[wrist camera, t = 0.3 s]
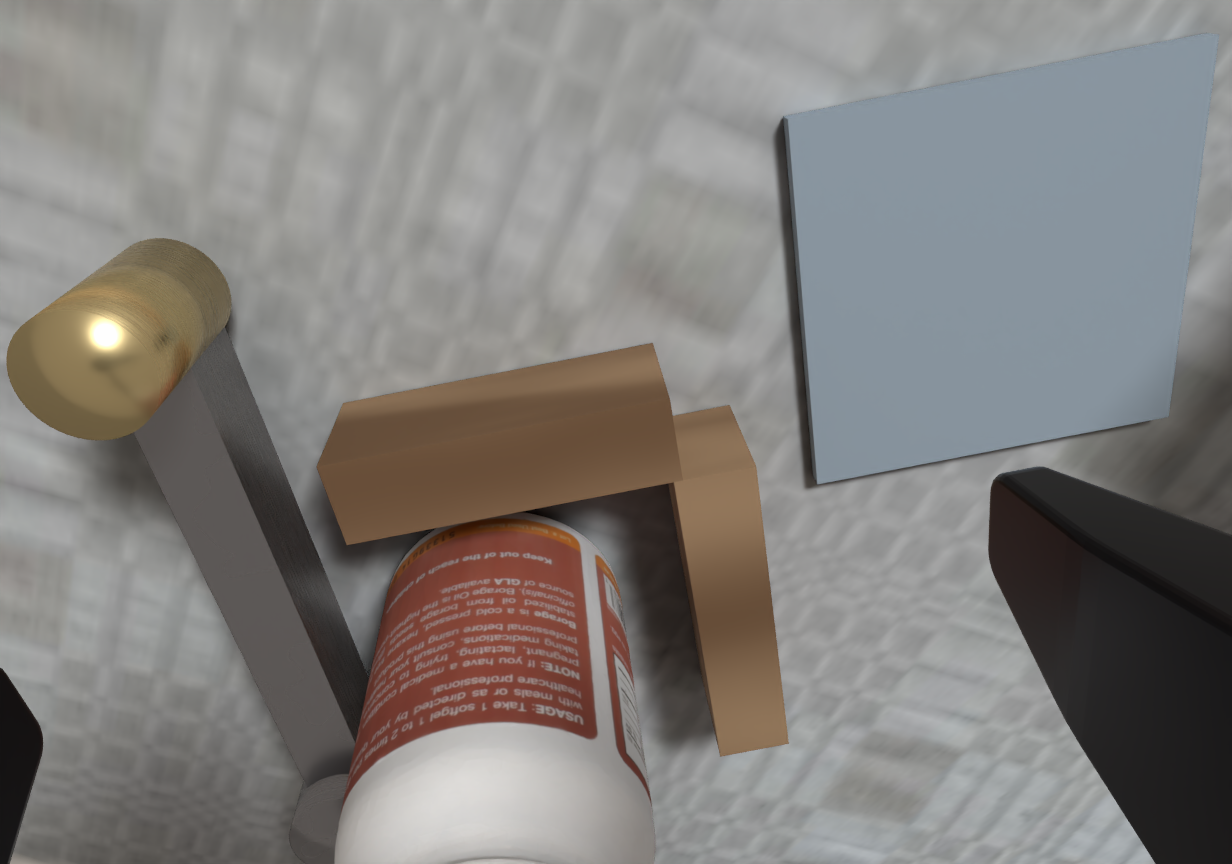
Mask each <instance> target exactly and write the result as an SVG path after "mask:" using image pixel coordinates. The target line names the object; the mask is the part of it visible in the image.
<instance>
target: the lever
mask: <svg viewBox="0 0 1232 864" xmlns="http://www.w3.org/2000/svg"><path fill="white" fill-rule="evenodd" d="M230 312H231V295H230V290H229V287H228V284H227V282H226V279H225V277H224V276H223V274H222V272H221V271H220V269H219V268H218V267H217V266H216V264H215V263H214V262H213V261H212V260H211V259H210V258H209V257H207V256H206V255H205V254H204V253H202V252H201V251H199V250H198V249H196V248H194V247H192V246H190V245H188V244H186V243H183V242H180V241H176V240H172V239H164V238H155V239H147V240H143V241H140V242H138V243H135V244H133V245H132V246H130V247H128V248H127V249H125V250H124V251H123V252H121V253H120V254H119V255H117V256H116V257H115V258H113V259H112V260H110V261H109V262H108V263H106V264H105V265H104V266H102V267H101V268H99V269H98V270H97V271H95V272H94V273H93V274H91V275H90V276H89V277H87V278H86V279H84V280H83V281H82V282H80V283H79V284H78V285H76V286H75V287H73V288H72V289H71V290H69V291H68V292H67V293H65V294H64V295H63V296H61V297H60V298H58V299H57V300H56V301H54V302H53V303H52V304H50V305H49V306H48V307H46V308H45V309H43V310H42V311H41V312H39V313H38V314H37V315H35V316H34V317H32V318H31V319H30V320H28V321H27V322H26V323H25V324H23V325H22V326H21V327H20V328H19V329H18V330H17V332H16V333H15V334H14V336H13V338H12V340H11V341H10V344H9V347H8V351H7V371H8V376H9V379H10V382H11V384H12V387H13V389H14V391H15V393H16V394H17V396H18V397H19V399H20V400H21V401H22V403H23V404H24V405H25V406H26V408H27V409H28V410H29V411H30V412H31V413H32V414H34V415H35V416H36V417H37V418H38V419H40V420H41V421H42V422H44V423H46V424H47V425H49V426H50V427H52V428H54V429H56V430H58V431H60V432H63V433H65V434H67V435H71V436H74V437H77V438H82V439H88V440H111V439H117V438H120V437H124V436H126V435H129V434H131V433H134V435H135V437H136V439H137V441H138V443H139V445H140V447H141V449H142V451H143V453H144V455H145V457H146V459H147V461H148V463H149V465H150V467H151V470H152V472H153V474H154V476H155V478H156V480H157V482H158V484H159V486H160V488H161V490H162V492H163V494H164V496H165V498H166V500H167V502H168V504H169V506H170V508H171V510H172V512H173V514H174V516H175V518H176V521H177V523H178V525H179V527H180V529H181V531H182V533H183V535H184V537H185V539H186V541H187V543H188V545H189V547H190V549H191V551H192V553H193V555H194V557H195V559H196V561H197V563H198V565H199V567H200V570H201V572H202V574H203V576H204V578H205V580H206V582H207V584H208V586H209V588H210V590H211V592H212V594H213V596H214V598H215V600H216V602H217V604H218V606H219V608H220V610H221V612H222V614H223V616H224V618H225V621H226V623H227V625H228V627H229V629H230V631H231V633H232V635H233V637H234V639H235V641H236V643H237V645H238V647H239V649H240V651H241V653H242V655H243V657H244V659H245V661H246V663H247V665H248V667H249V669H250V672H251V674H252V676H253V678H254V680H255V682H256V684H257V686H258V688H259V690H260V692H261V694H262V696H263V698H264V700H265V702H266V704H267V706H268V708H269V710H270V712H271V714H272V716H273V718H274V720H275V723H276V725H277V727H278V729H279V731H280V733H281V735H282V737H283V739H284V741H285V743H286V745H287V747H288V749H289V751H290V753H291V755H292V757H293V759H294V761H295V763H296V765H297V767H298V769H299V771H300V774H301V776H302V778H303V780H304V781H303V785H302V789H301V792H300V796H299V799H298V803H297V807H296V810H295V814H294V817H293V821H292V825H291V828H290V833H289V840H290V845H291V847H292V849H293V851H294V853H295V854H296V855H297V856H298V858H299V859H301V860H302V861H303V862H304V863H306V864H335V862H334V859H335V844H336V837H337V832H338V827H339V820H340V815H341V810H342V805H343V800H344V795H345V790H346V785H347V780H348V776H349V771H350V766H351V762H352V757H353V752H354V748H355V743H356V738H357V734H358V729H359V725H360V720H361V716H362V711H363V706H364V701H365V696H366V691H367V686H368V682H369V678H368V675H367V673H366V671H365V668H364V666H363V663H362V661H361V658H360V656H359V653H358V651H357V649H356V646H355V644H354V641H353V639H352V636H351V634H350V631H349V629H348V627H347V624H346V622H345V619H344V617H343V614H342V612H341V609H340V607H339V605H338V602H337V600H336V597H335V595H334V592H333V590H332V587H331V585H330V583H329V580H328V578H327V575H326V573H325V570H324V568H323V565H322V563H321V560H320V558H319V556H318V553H317V551H316V548H315V546H314V543H313V541H312V538H311V536H310V534H309V531H308V529H307V526H306V524H305V521H304V519H303V516H302V514H301V512H300V509H299V507H298V504H297V502H296V499H295V497H294V494H293V492H292V490H291V487H290V485H289V482H288V480H287V477H286V475H285V472H284V470H283V468H282V465H281V463H280V460H279V458H278V455H277V453H276V450H275V448H274V446H273V443H272V441H271V438H270V436H269V433H268V431H267V428H266V426H265V424H264V421H263V419H262V416H261V414H260V411H259V409H258V406H257V404H256V402H255V399H254V397H253V394H252V392H251V389H250V387H249V384H248V382H247V380H246V377H245V375H244V372H243V370H242V367H241V365H240V362H239V360H238V358H237V355H236V353H235V350H234V348H233V345H232V343H231V340H230V338H229V336H228V333H227V331H226V328H225V325H226V324H227V322H228V319H229V316H230Z"/></svg>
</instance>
